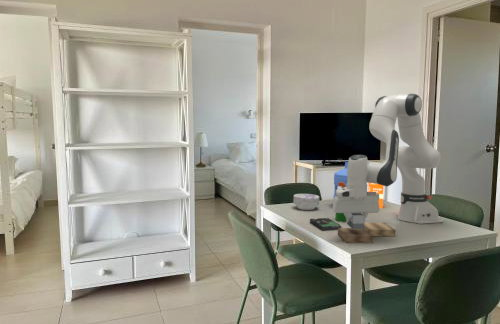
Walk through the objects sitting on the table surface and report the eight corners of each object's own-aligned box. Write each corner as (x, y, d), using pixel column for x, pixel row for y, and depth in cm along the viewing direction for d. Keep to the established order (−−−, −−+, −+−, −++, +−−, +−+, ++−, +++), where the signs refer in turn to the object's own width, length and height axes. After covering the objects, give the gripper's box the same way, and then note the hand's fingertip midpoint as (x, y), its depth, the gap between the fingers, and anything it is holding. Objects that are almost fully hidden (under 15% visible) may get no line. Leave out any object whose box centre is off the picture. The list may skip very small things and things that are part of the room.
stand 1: (363, 234, 175) (363, 228, 175) (372, 242, 163) (373, 235, 163) (337, 234, 175) (337, 228, 174) (345, 242, 163) (345, 236, 162)
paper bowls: (318, 206, 233) (318, 193, 232) (319, 212, 218) (320, 198, 217) (293, 205, 234) (293, 192, 234) (293, 211, 219) (293, 197, 218)
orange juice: (379, 205, 237) (381, 173, 235) (382, 208, 229) (384, 175, 226) (367, 204, 238) (368, 173, 236) (369, 207, 230) (370, 175, 228)
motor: (353, 222, 195) (354, 184, 193) (335, 221, 197) (336, 183, 195) (351, 217, 205) (353, 181, 203) (335, 216, 207) (336, 180, 205)
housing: (357, 223, 173) (358, 210, 172) (363, 228, 165) (364, 215, 164) (346, 223, 172) (347, 211, 172) (352, 228, 164) (353, 215, 164)
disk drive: (309, 224, 194) (322, 232, 180) (309, 218, 194) (322, 226, 180) (327, 222, 197) (341, 230, 183) (327, 217, 197) (342, 224, 183)
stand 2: (384, 228, 185) (384, 222, 185) (395, 236, 173) (395, 229, 173) (360, 228, 184) (360, 222, 184) (369, 236, 173) (370, 229, 172)
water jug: (357, 205, 236) (359, 160, 233) (361, 211, 221) (363, 163, 218) (332, 204, 238) (333, 160, 235) (333, 210, 223) (335, 162, 220)
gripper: (376, 190, 171) (375, 220, 172) (332, 190, 169) (331, 220, 171) (382, 193, 164) (381, 224, 166) (336, 193, 163) (335, 224, 165)
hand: (355, 222), depth 168 cm, fingers closed on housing, 5 cm apart
